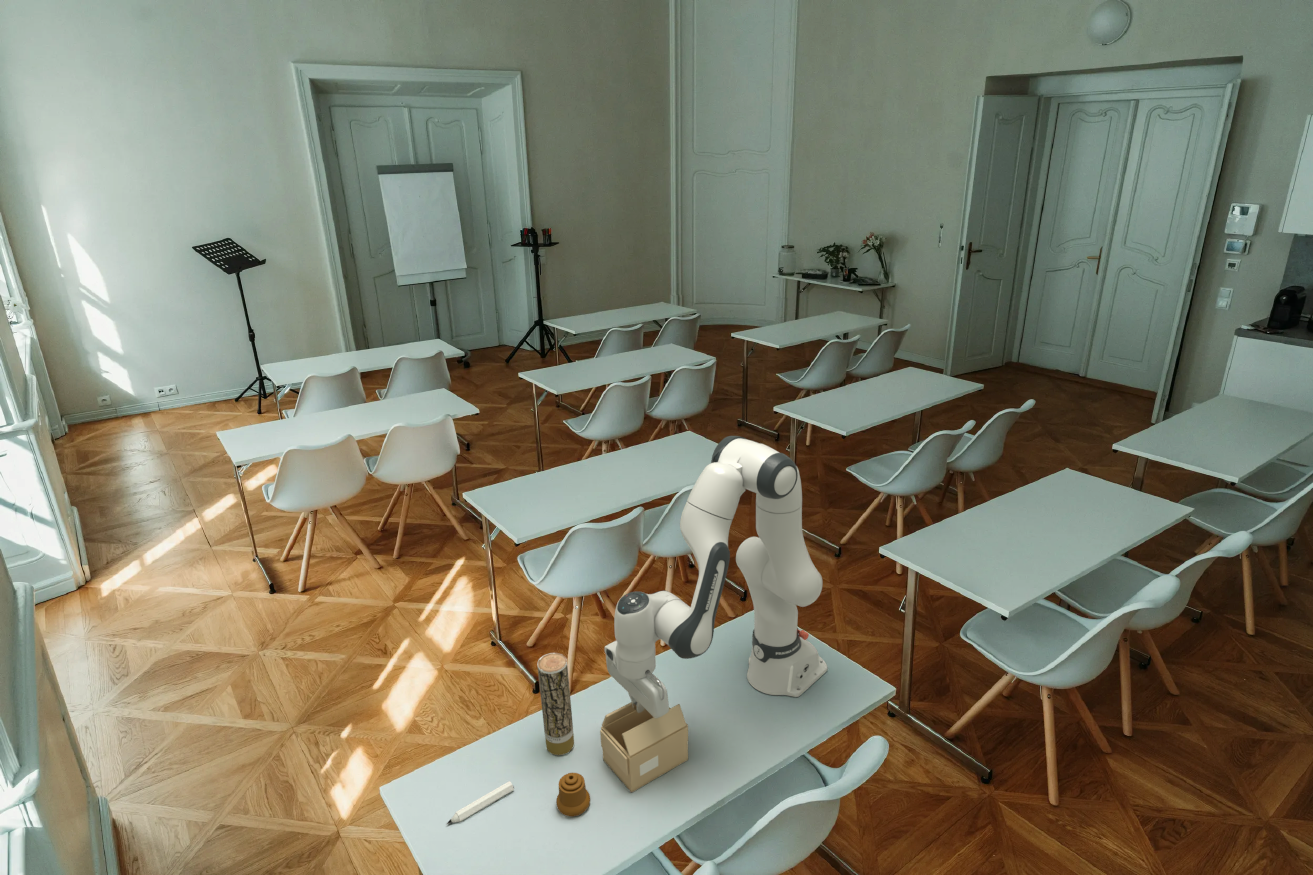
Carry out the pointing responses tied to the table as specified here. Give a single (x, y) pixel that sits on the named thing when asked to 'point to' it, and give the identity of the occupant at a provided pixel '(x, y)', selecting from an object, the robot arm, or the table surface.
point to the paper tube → (556, 703)
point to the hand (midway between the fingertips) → (638, 709)
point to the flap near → (653, 730)
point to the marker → (482, 802)
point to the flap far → (618, 714)
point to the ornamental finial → (572, 795)
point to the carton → (646, 761)
